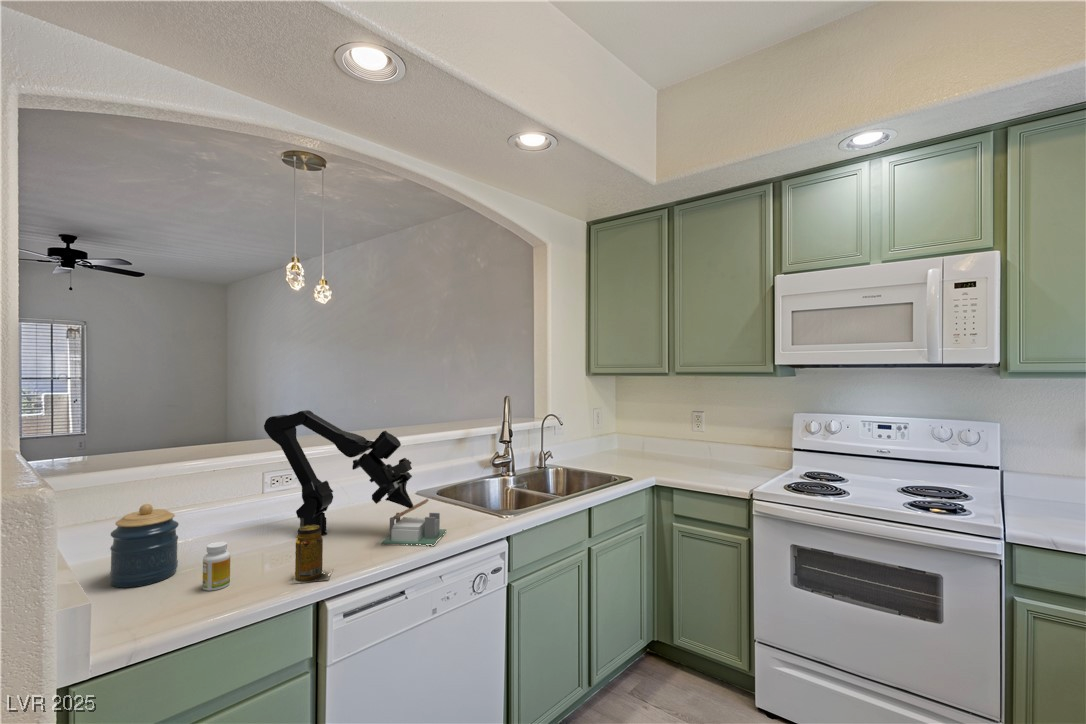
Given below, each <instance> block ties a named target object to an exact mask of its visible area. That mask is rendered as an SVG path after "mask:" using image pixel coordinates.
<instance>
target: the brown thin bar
mask: <svg viewBox="0 0 1086 724" xmlns="http://www.w3.org/2000/svg"><path fill="white" fill-rule="evenodd" d="M428 502H429V499H428V498H425V499H424V500H422V501H420V502H418V503H416V504H413V507H411V508H407V509H405V510H403V511H401V512H398V513H399V514H396V513H395V515H393V517H394V521H396V519H397V518H399V517H400V518H402V517H403V516H404V515H407V514H408V513H410V512H412V511H414V510H416V509H417V508H420V507H422V506H423V505H425V504H427V503H428Z"/></svg>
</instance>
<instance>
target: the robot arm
mask: <svg viewBox="0 0 1086 724" xmlns="http://www.w3.org/2000/svg"><path fill="white" fill-rule="evenodd" d="M298 426H304V427H306V428H307V429H309V430H311V432H314V433H315V434H318V435H319V436H321V437H323V438H324V439H326V440H328V442H329V441H330V442H331V443H332V444H333V445H334V446H335V447H336V448H337V450H338V451H339V452H341V454H343V455H344V456H346V457H347V458H349V459H350V458H351V459H352V458H355V457H357V456H358V457H359V456H360V455H361V456H360V457H359V458H358V459H353V460H352V468H351V469H352V470H356V469H359V468H361V469H362V470H363V471H364V472H365V474H367V476H368V477H369V478H370V479H369V482H370V483H375V484H376V485H377V486H378V488H377V489H376V490H375V491H374V492H373V493H372V494H371V501H373V503H375V505H377V504H378V503H380V502H381V501H382V499H383V498H384V497H385V496H387V497H386V498H385V501H388V502H392V503H394V504H397V505H400V506H403V507H404V508H407V509H408V508H411V507H413V506H414V504H413V502H412V500H411V498H410V496H409V493H408V491H407V484H408V481H410V479H412V478H413V475H412V473H410V472H409V471H411V470H413V468H412V461H410V459H409V458H408V459H407V458H406V457H404V458H401V459H400V460H398V464H396V465H392V464H390V463H388V464H386V463H385V462H384V461H383V459H384V460H387V459H389V458H390V457H391V456H392V455H393V454H394V453H395V452H396V451H397V450H398V449H399V448H400V447H401V445H402V443H401V441H400V440H399V438H398V437H397V436H394V434H391V433H389V432H388V431H387V430H383V431H382V432H381V433H380V434H379V435H378V436H377V437H376V439H375V440H369V439H368V440H367V438H366V437H365V436H362V435H359V434H357V433H353V432H349V431H345V430H343V429H341V428H339V427H338V426H336V425H334V424H332V423H331V422H329V421H327V420H325V419H324V418H322V417H320V416H318V415H317V414H315V413H314V412H313V411H311V410H309V409H306V410H301V411H300V410H299V411H297V412H295V413H291V414H281V415H273V416H269V417H268V418H266V420H265V422H264V425H263V429H264V431H265V434H267V436H268V437H269V438H270V439H271V440H272V441H273V442H275V443H276V444H277V445H279V446H280V448H281V450H282V452H283V453H284V456H285V457H286V459H287V462H288V463H289V465H290V466H291V469H292V471H293V472H294V475H295V476H296V478H297V480H298V482H299V484H300V486H301V498H302V502H303V503H302V505H301V506H300V507H299V508H297V509H296V511H295V513H296V516H297V519H299V528H300V527H303V526H307V525H318V526H321V536H325V535H327V534H328V532H327V517H326V515H325V514H326V513H325V512H327V511H328V508H329V506H330V505H331V504H332V503H333V500H334V494H333V492H334V490H333V489H332V488H331V486H330V484H329V481H328V480H325V481H321V480H320V479H319V478H318V477H317V475H316V473H315V471H314V469H313V468H312V465H311V464H310V461H309V460H308V458H307V455H306V454H305V452H304V450H303V449H302V446H301V445H300V443H299V441H298V439H297V427H298ZM367 451H369V452H368V453H366V452H367Z"/></svg>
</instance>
